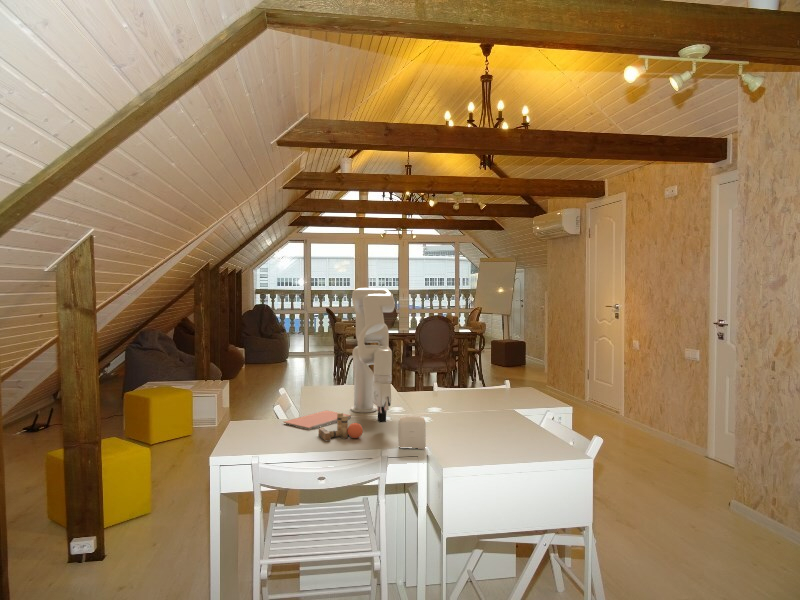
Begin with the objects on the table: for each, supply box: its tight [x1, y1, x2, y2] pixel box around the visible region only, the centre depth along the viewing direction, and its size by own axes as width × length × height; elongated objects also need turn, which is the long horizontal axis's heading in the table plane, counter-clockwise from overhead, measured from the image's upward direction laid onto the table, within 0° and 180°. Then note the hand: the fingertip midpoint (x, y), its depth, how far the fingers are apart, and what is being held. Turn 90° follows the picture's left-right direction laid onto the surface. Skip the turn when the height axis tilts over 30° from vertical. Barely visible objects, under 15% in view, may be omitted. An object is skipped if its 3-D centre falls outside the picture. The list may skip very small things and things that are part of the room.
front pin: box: [328, 430, 349, 438], centre depth 214 cm, size 2×2×8 cm
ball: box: [348, 422, 364, 439], centre depth 212 cm, size 6×6×6 cm
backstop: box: [318, 427, 331, 441], centre depth 212 cm, size 9×2×3 cm, turn 26°
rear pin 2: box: [340, 416, 349, 439], centre depth 213 cm, size 2×2×8 cm
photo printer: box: [397, 414, 427, 450], centre depth 200 cm, size 10×4×12 cm, turn 89°
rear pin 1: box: [336, 412, 344, 431], centre depth 217 cm, size 2×2×8 cm
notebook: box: [283, 409, 352, 430], centre depth 238 cm, size 27×17×2 cm, turn 144°
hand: (381, 421), depth 223 cm, fingers closed
